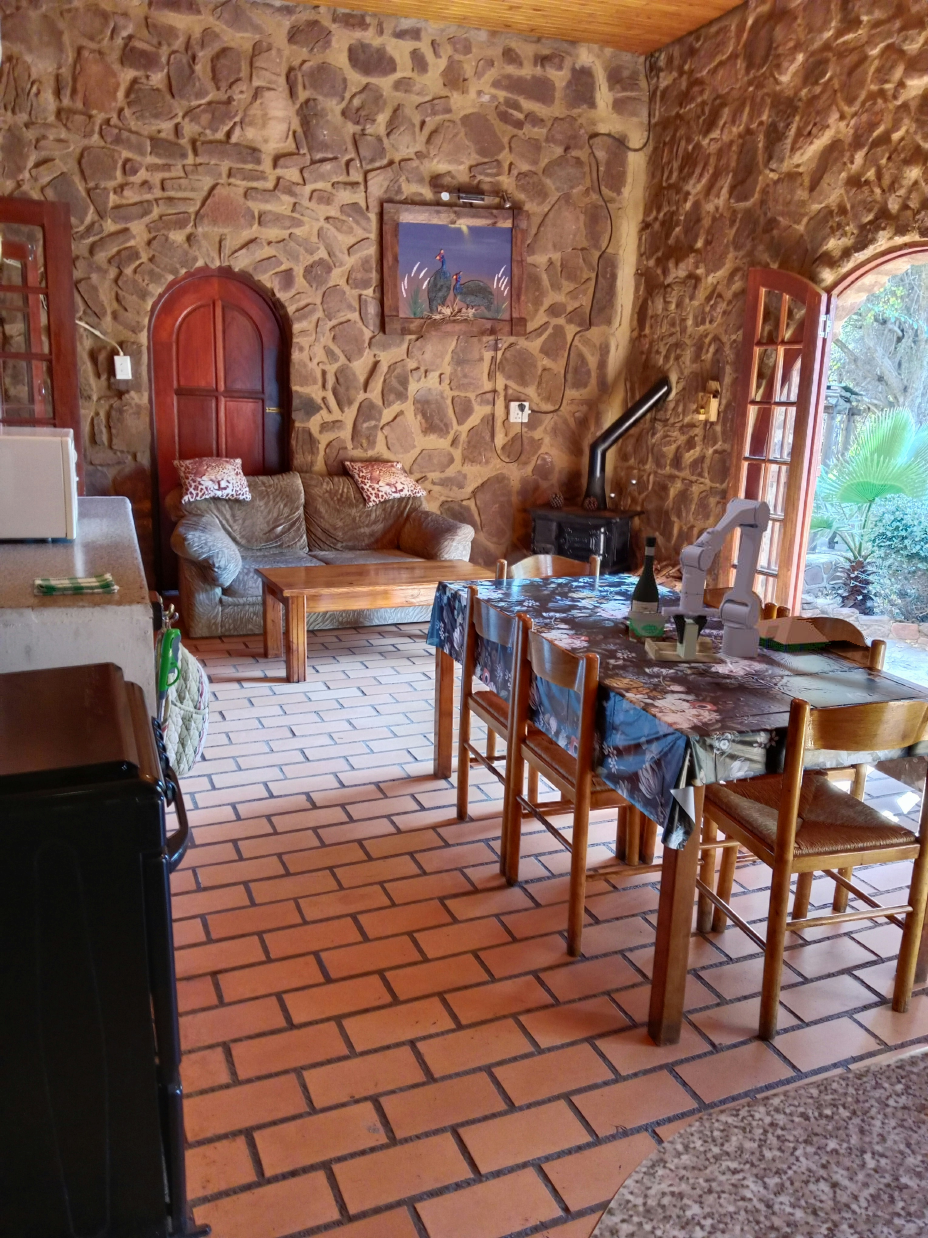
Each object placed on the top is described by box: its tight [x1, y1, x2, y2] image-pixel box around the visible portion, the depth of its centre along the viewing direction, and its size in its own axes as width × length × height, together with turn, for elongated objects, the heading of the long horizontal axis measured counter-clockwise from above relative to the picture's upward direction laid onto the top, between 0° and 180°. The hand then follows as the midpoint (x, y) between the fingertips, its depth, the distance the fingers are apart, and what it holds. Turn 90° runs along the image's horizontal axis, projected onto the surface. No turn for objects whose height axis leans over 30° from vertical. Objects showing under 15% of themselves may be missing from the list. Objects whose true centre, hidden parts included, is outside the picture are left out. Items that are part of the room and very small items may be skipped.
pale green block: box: [676, 618, 698, 659], centre depth 260 cm, size 3×7×9 cm, turn 3°
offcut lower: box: [696, 647, 714, 654], centre depth 274 cm, size 4×6×2 cm, turn 3°
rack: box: [644, 638, 720, 663], centre depth 274 cm, size 18×11×4 cm, turn 93°
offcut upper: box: [696, 636, 713, 650], centre depth 273 cm, size 4×5×2 cm
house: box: [755, 615, 868, 653], centre depth 299 cm, size 23×33×8 cm
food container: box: [626, 608, 669, 645], centre depth 285 cm, size 12×6×10 cm, turn 105°
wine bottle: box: [630, 535, 660, 612], centre depth 291 cm, size 8×8×30 cm
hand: (687, 643), depth 260 cm, fingers closed on pale green block, 3 cm apart
